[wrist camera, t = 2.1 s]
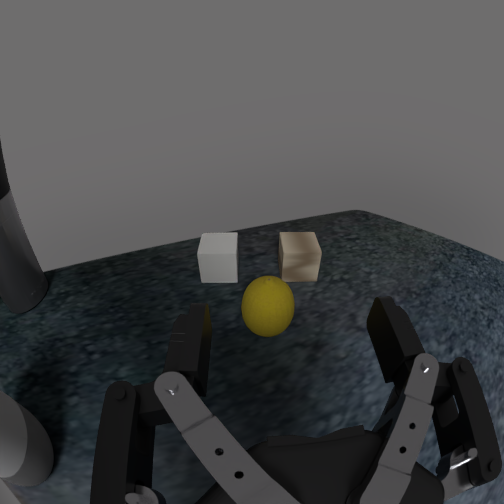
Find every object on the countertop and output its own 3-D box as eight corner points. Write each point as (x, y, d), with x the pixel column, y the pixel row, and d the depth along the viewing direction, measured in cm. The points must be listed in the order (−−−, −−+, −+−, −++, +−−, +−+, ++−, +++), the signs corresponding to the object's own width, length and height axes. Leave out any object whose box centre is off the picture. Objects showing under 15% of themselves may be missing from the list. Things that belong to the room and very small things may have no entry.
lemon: (265, 306, 34) (267, 254, 29) (299, 330, 31) (309, 278, 26) (232, 330, 31) (228, 279, 26) (267, 359, 28) (271, 309, 23)
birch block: (281, 282, 38) (283, 253, 35) (277, 260, 42) (279, 232, 39) (316, 281, 38) (321, 252, 35) (310, 259, 42) (314, 232, 39)
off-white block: (201, 283, 38) (197, 253, 35) (205, 261, 42) (202, 233, 39) (237, 283, 38) (236, 253, 35) (238, 260, 42) (237, 232, 39)
